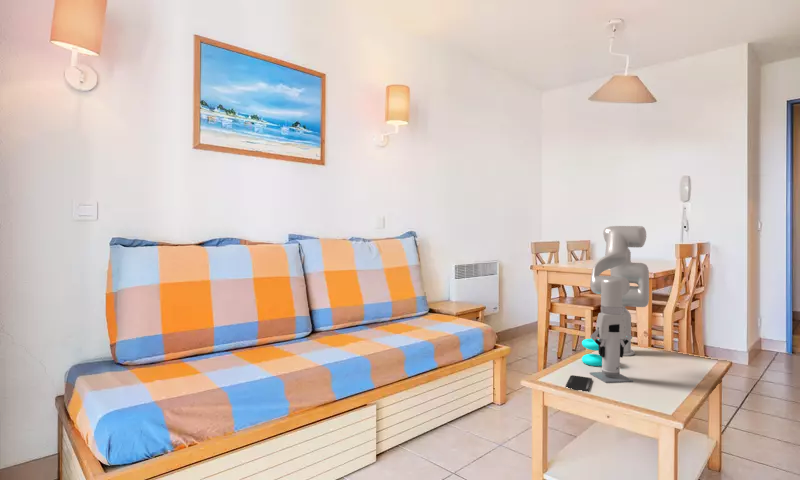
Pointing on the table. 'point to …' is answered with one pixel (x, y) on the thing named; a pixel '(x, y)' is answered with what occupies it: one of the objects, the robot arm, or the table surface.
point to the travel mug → (612, 352)
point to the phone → (579, 383)
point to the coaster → (611, 377)
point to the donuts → (591, 358)
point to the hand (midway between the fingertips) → (611, 356)
